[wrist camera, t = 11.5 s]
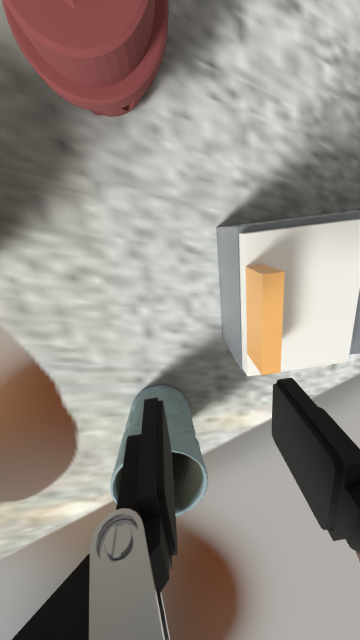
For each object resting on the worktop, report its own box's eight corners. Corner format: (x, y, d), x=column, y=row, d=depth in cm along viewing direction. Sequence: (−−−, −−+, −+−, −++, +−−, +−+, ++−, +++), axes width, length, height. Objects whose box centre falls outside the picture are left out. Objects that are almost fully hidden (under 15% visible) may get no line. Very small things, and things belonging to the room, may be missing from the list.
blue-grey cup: (150, 443, 38) (146, 532, 27) (110, 400, 35) (87, 481, 24) (205, 413, 37) (225, 493, 26) (170, 366, 34) (175, 434, 23)
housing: (401, 204, 28) (487, 196, 21) (379, 315, 34) (443, 341, 26) (216, 227, 28) (237, 227, 20) (222, 337, 33) (241, 370, 25)
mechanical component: (44, -4, 20) (165, 6, 21) (63, 140, 24) (165, 144, 25) (-107, -308, 9) (171, -261, 10) (-27, 58, 12) (171, 70, 13)
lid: (356, 218, 20) (414, 216, 16) (337, 354, 25) (378, 383, 20) (239, 233, 20) (263, 235, 15) (242, 368, 25) (261, 400, 20)
